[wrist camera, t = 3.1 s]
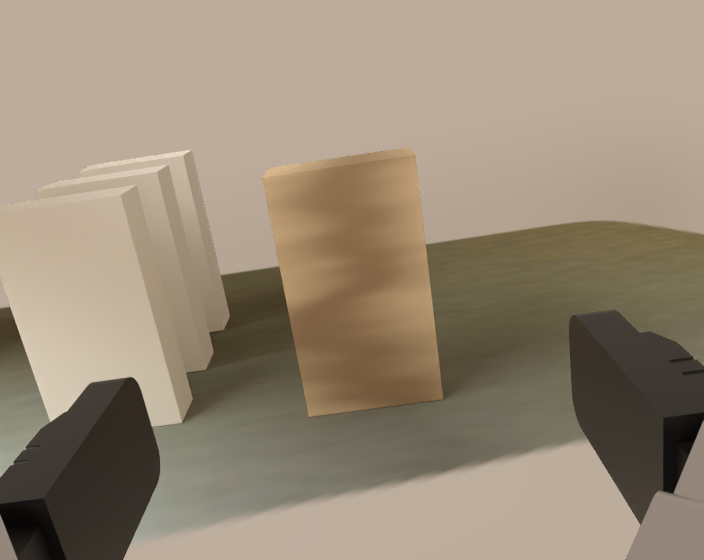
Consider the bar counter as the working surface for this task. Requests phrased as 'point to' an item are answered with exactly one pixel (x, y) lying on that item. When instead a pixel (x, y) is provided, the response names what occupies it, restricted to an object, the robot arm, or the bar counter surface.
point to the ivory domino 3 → (186, 226)
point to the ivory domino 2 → (91, 299)
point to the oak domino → (356, 280)
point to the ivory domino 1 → (160, 251)
